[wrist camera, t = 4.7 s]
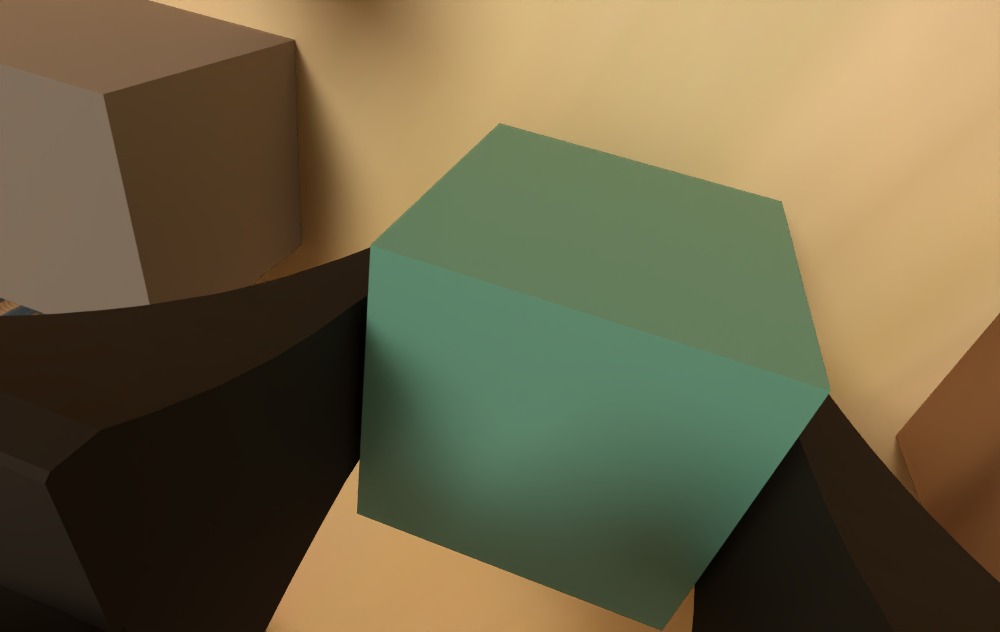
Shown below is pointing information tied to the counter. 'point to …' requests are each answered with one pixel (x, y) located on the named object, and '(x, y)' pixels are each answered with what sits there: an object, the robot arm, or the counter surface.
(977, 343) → the walnut block
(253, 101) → the gray block
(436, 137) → the counter surface
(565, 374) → the muted green block
